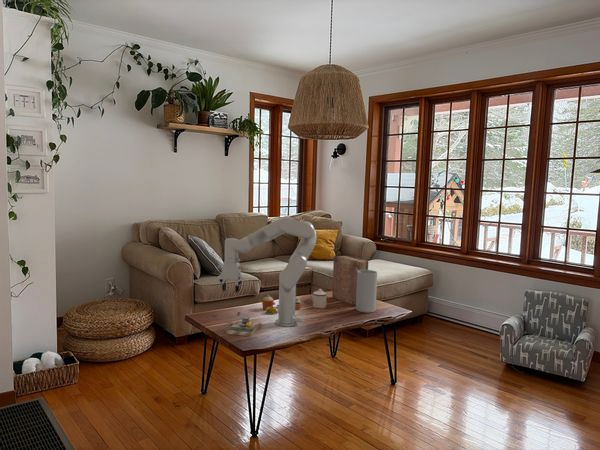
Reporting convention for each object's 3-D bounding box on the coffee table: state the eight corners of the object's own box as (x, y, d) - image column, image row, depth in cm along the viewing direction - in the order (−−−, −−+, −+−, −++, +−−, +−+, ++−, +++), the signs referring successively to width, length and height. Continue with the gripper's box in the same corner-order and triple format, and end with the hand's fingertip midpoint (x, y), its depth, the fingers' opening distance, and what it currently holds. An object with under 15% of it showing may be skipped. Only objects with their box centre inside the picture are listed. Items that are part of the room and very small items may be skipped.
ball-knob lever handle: (255, 329, 245) (255, 321, 245) (244, 330, 243) (244, 322, 242) (243, 316, 266) (243, 309, 266) (233, 317, 264) (233, 310, 264)
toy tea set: (268, 315, 278) (268, 300, 277) (256, 309, 291) (257, 294, 290) (304, 310, 292) (305, 295, 291) (292, 304, 305) (292, 290, 304)
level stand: (261, 325, 257) (261, 322, 257) (250, 336, 240) (250, 332, 240) (237, 323, 260) (237, 320, 260) (225, 333, 243) (225, 329, 243)
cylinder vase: (366, 314, 287) (368, 274, 285) (351, 309, 296) (353, 271, 294) (379, 310, 295) (381, 272, 293) (364, 306, 305) (366, 269, 302)
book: (366, 304, 310) (368, 260, 307) (356, 306, 304) (358, 261, 301) (342, 296, 330) (343, 254, 327) (332, 297, 325) (333, 255, 322)
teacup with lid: (329, 306, 301) (329, 289, 300) (320, 309, 294) (321, 291, 293) (314, 303, 309) (315, 286, 308) (306, 305, 302) (306, 288, 301)
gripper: (248, 260, 261) (247, 291, 262) (219, 258, 265) (218, 288, 266) (243, 262, 254) (242, 294, 255) (214, 260, 257) (213, 291, 259)
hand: (230, 291), depth 261 cm, fingers open, 6 cm apart
